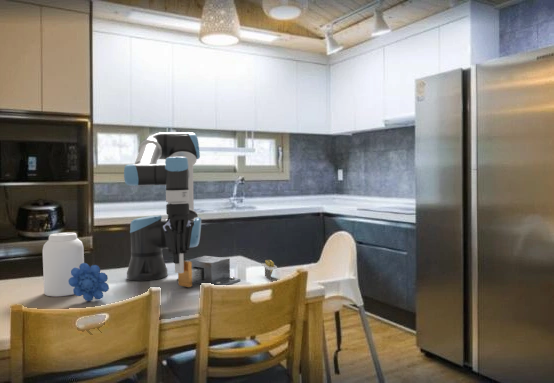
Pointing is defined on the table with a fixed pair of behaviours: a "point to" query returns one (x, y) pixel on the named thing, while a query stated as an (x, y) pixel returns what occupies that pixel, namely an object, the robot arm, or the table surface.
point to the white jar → (61, 262)
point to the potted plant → (269, 268)
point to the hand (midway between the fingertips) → (179, 272)
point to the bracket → (214, 270)
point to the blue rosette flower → (88, 282)
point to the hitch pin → (190, 275)
